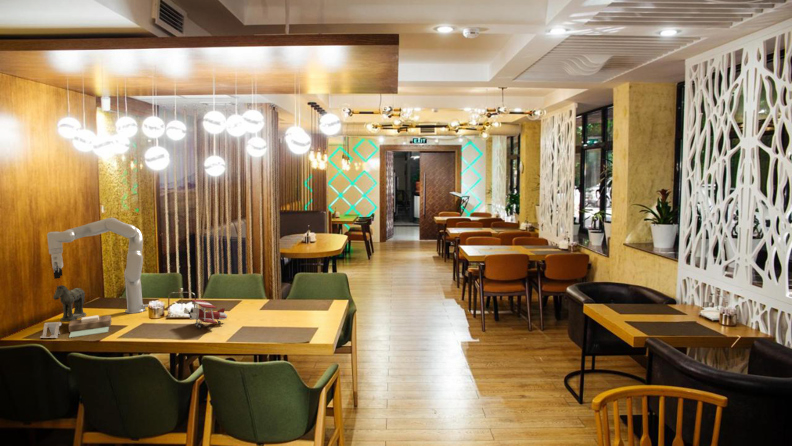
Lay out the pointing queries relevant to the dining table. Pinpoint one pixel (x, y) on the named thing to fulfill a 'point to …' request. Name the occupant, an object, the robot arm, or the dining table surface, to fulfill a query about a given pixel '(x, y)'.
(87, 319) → the cream rectangular block
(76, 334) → the mat
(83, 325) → the deck
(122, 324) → the dining table surface
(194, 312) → the toy airplane
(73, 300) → the statue
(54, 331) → the portable electronic device stand
